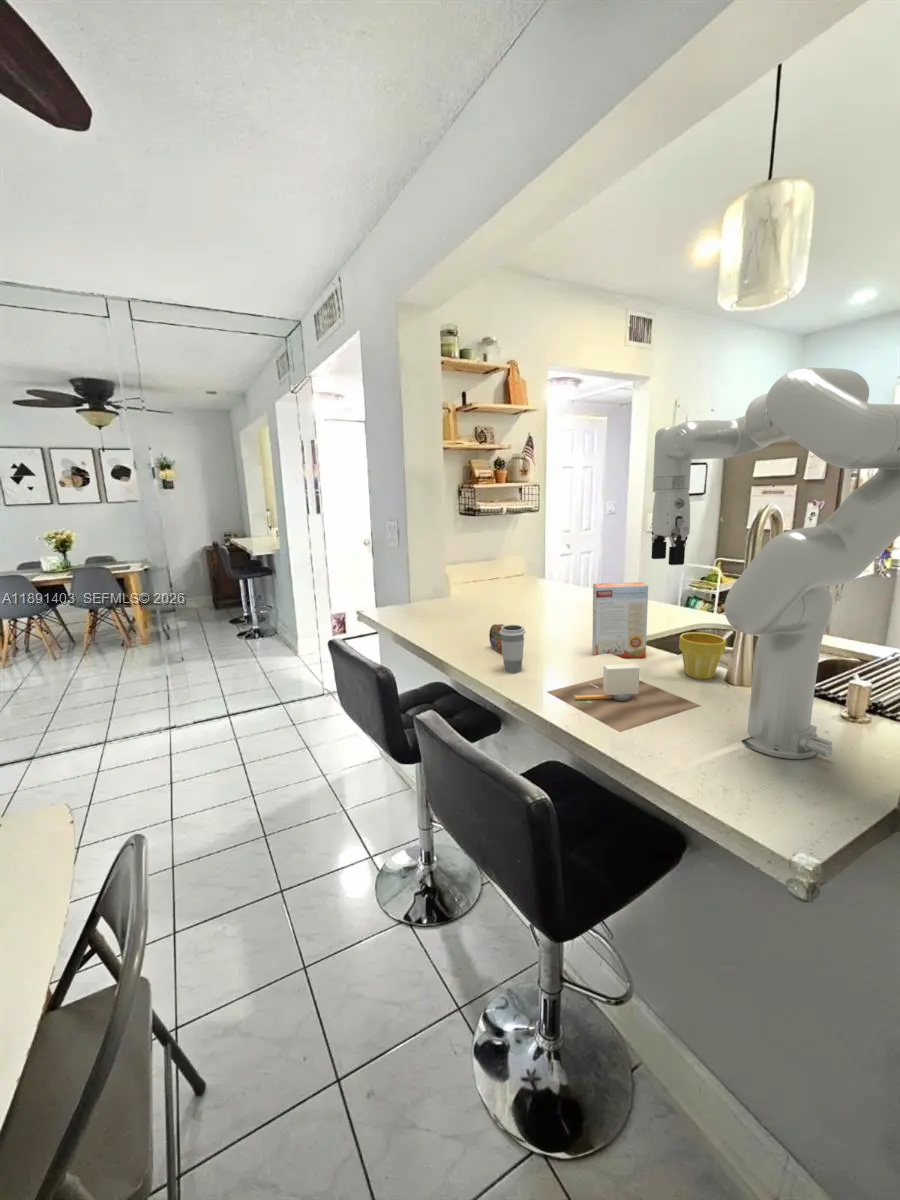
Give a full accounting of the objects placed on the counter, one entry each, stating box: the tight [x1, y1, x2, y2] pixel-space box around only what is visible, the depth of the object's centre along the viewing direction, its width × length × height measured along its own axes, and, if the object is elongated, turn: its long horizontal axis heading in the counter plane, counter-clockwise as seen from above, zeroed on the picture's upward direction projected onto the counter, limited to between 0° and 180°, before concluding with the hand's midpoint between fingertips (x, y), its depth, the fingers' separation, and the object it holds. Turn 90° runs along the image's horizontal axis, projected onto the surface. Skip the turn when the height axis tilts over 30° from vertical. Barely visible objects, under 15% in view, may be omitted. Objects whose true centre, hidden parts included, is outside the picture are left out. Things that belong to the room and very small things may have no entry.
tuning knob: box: [575, 663, 640, 701], centre depth 111 cm, size 14×4×7 cm, turn 91°
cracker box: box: [591, 581, 649, 659], centre depth 142 cm, size 14×6×21 cm, turn 84°
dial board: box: [547, 677, 702, 733], centre depth 112 cm, size 23×23×2 cm
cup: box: [499, 624, 526, 674], centre depth 134 cm, size 7×7×12 cm
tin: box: [488, 623, 506, 655], centre depth 149 cm, size 15×3×8 cm, turn 25°
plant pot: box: [678, 631, 727, 680], centre depth 126 cm, size 10×10×10 cm
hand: (666, 561), depth 115 cm, fingers open, 9 cm apart
